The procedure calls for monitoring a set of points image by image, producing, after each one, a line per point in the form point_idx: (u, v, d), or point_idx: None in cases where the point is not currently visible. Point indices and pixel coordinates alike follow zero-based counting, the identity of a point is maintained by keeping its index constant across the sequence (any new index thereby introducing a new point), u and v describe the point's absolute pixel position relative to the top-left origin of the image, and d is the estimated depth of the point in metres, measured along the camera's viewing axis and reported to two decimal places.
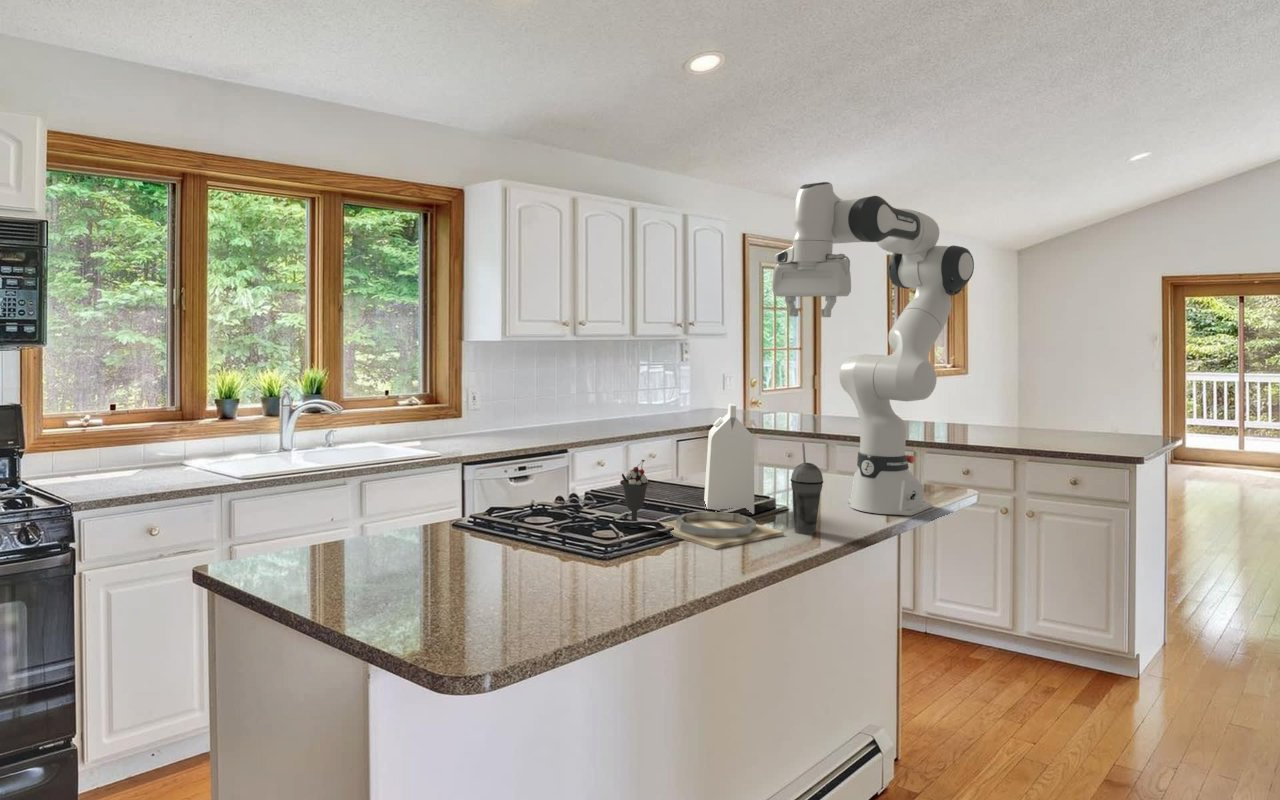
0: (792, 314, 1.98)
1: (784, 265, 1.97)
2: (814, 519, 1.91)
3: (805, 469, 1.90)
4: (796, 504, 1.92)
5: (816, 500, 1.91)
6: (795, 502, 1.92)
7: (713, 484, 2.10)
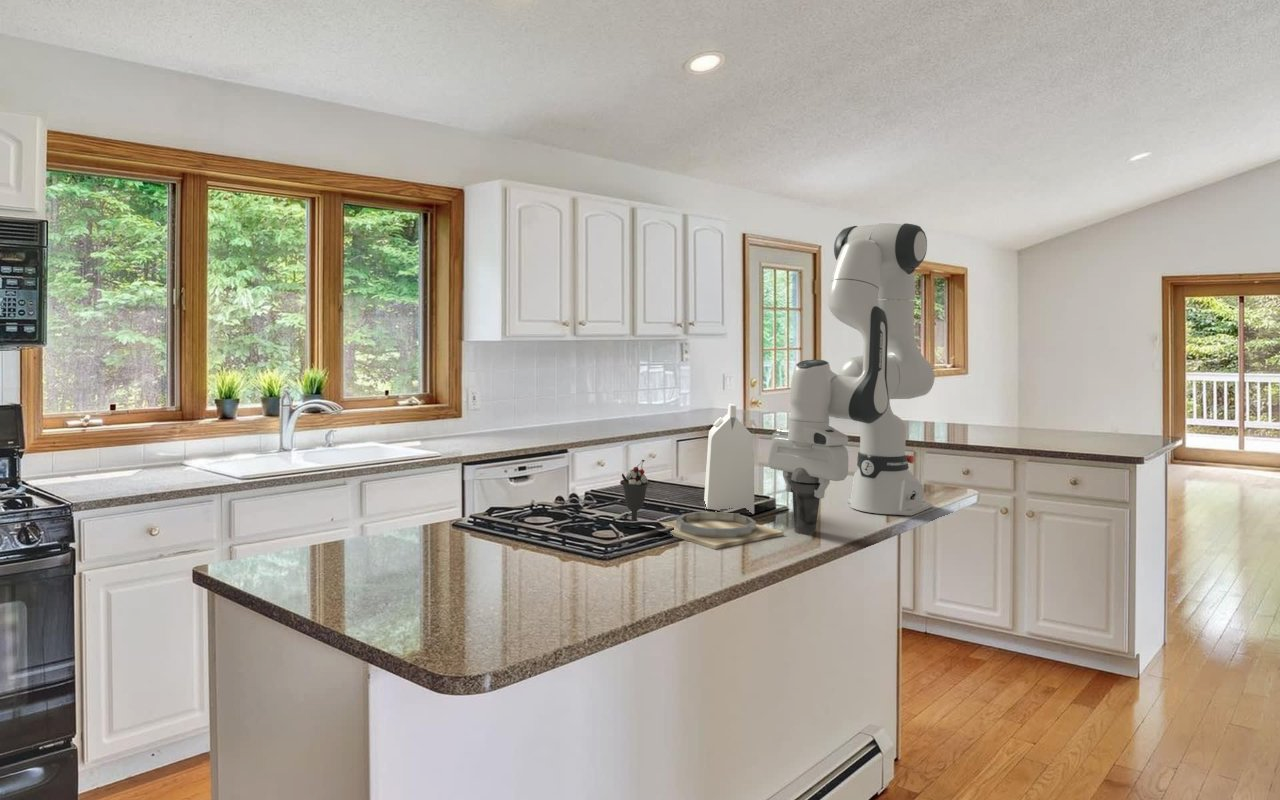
0: None
1: None
2: (814, 519, 1.91)
3: None
4: (796, 504, 1.91)
5: (816, 500, 1.91)
6: (795, 502, 1.92)
7: (713, 484, 2.10)
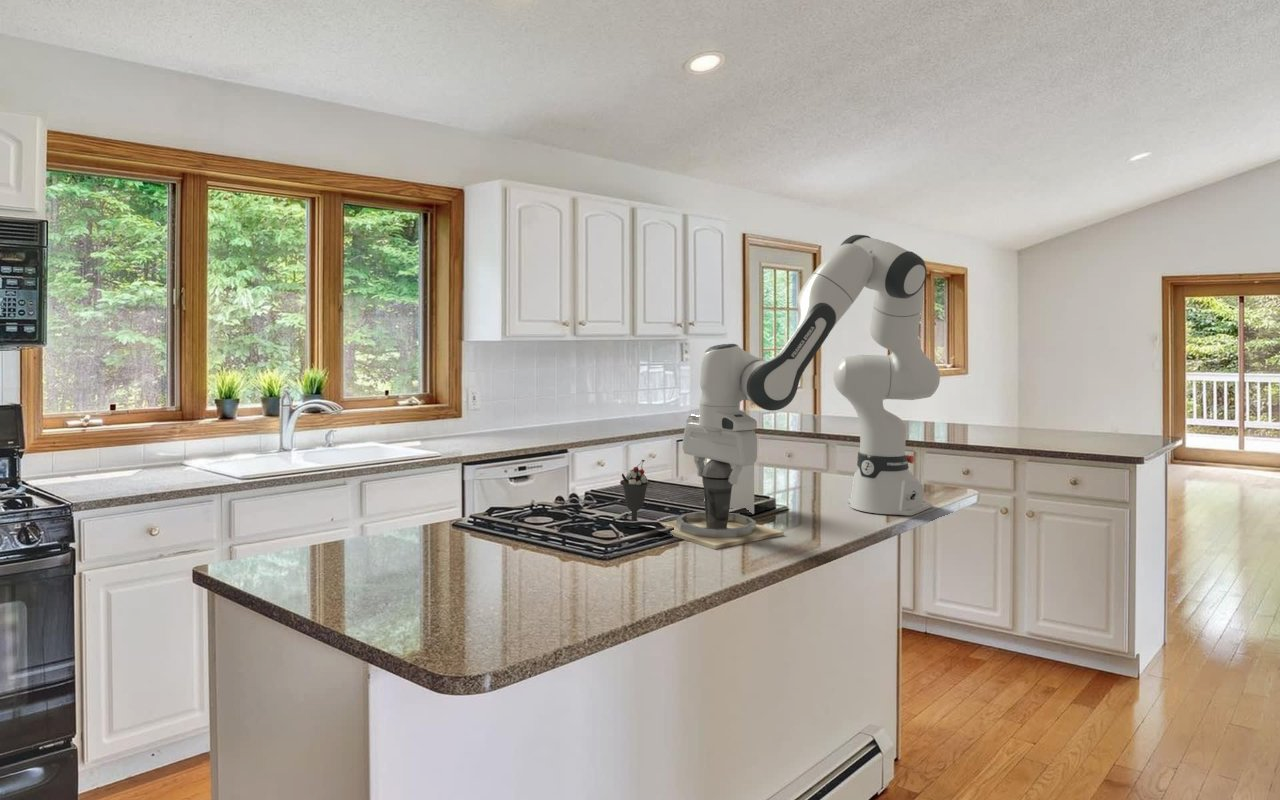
0: None
1: None
2: (725, 515, 1.89)
3: (715, 464, 1.88)
4: (707, 500, 1.89)
5: (727, 496, 1.88)
6: (706, 498, 1.89)
7: None
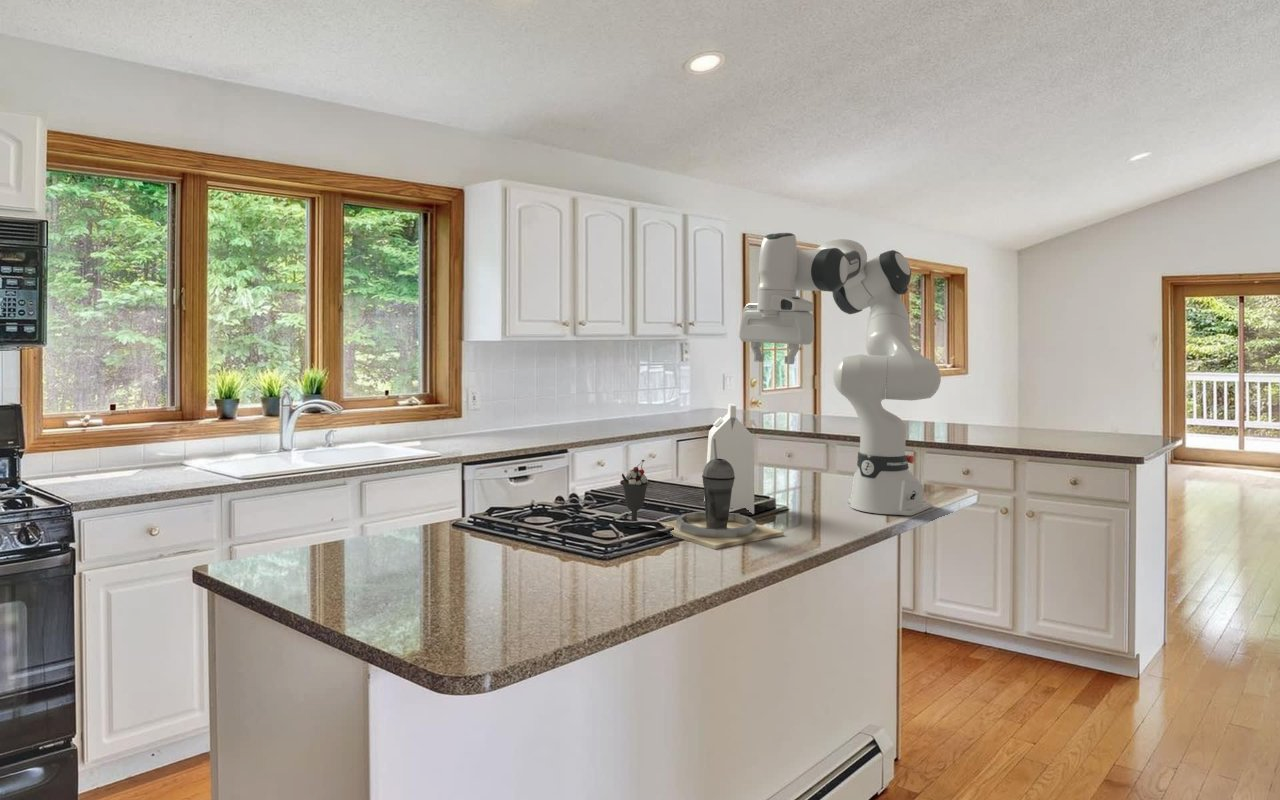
0: None
1: None
2: (725, 515, 1.89)
3: (715, 465, 1.88)
4: (707, 500, 1.89)
5: (727, 496, 1.88)
6: (706, 498, 1.89)
7: None
